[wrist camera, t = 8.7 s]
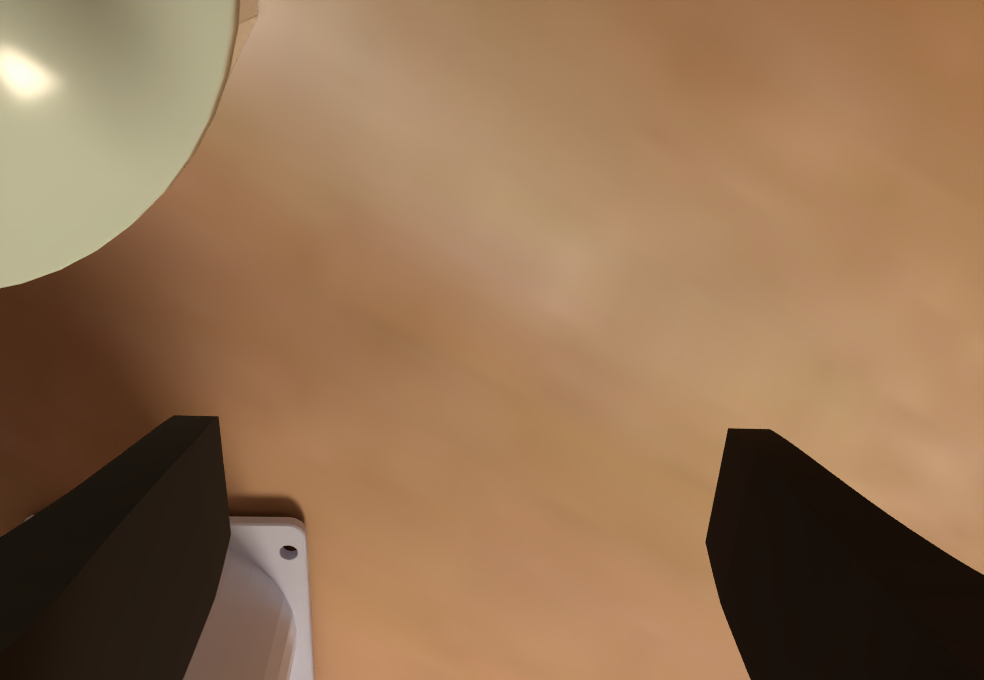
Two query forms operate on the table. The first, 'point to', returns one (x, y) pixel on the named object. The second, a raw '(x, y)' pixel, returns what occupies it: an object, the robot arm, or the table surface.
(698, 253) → the table surface
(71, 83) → the lid
